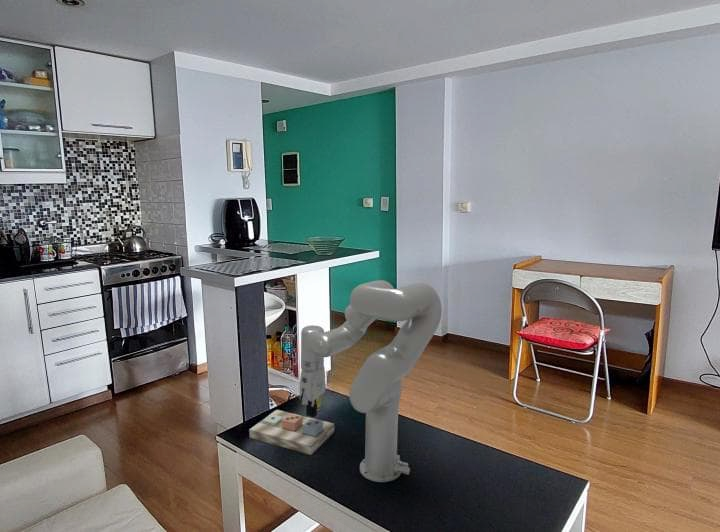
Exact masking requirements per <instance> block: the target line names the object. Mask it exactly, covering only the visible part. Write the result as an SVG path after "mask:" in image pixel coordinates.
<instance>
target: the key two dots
mask: <svg viewBox="0 0 720 532" xmlns="http://www.w3.org/2000/svg"><path fill="white" fill-rule="evenodd" d="M314 419H315V418H313V419H309V420H308V421H307V422H305V423H304V424H303V425H302V433H303V434H307V435H310V436H314V437H316V436H317V435H318V434H319V433H320V432H321V431H322V430H323V422H322V421H323V420H321V421H318V420H319V419H317V420H314Z"/></svg>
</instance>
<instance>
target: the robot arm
mask: <svg viewBox="0 0 720 532" xmlns="http://www.w3.org/2000/svg"><path fill="white" fill-rule="evenodd" d="M441 302H442V301H441V299H440V296H439V294H438V292H437V291H436V290H435V288H434V287H432V286H431V285H429V284H428V283H427V284H426V283H424V282H423V283H420V282H417V283H411V284H409V285H406V286H402V287H399V288H394V286H393V285H392V284H391V283H390V282H388V281H386V280H383V279H382V280H380V279H379V280H373V281H369V282H366V283H361V284H359V285H357V286H356V287H355V288H353V290H352V291H351V293H350V298H349V303H350V304H348V306H347V307H346V308H345V310H344V317H345V320H346V321H344V322H343V324H342V325H340V326H339V327H336V328H333V329H330V330H327V331H325V330H324V328H323V327H322V326H319V325H314V324H313V325H307V326H304V327H303V328H302V329H301V333H300V375H299V376H300V378H299V399H300V400H301V405H303V406H306V412H305V413H306V417H309V418H316V417H317V415H318V411H317V403H318V397H319V396H320V395H321V396H322V395H323V394H324V393H326V392H325V391H326V387H327V386H326V384H327V382H326V371H325V358H329V357H333V355H336V354H339V353H341V352H344V351H346V350H347V349H349V348H351V347H352V346H353V345H355V344H356V343H357V342H358V341H359V340H360V339H361V338H362V337H363V336H364V335H366V332H367V329H368V327H369V326H370V325H371V324H372V323H373V322H374V321H376V320H377V319H378V320H384V321H385V320H386V321H390V322H404V323H403V324H402V325H401V327H400V328H399V329H398V332H397V334H396V336H395V337H394V339H393V340H392V341H391V342H390V343H389V344H388V345H385V346H384V347H382V348H380V349H378V350H375V351H374V352H373V353H371V354H370V356H368V357H367V359H366V360H365V361H364V362H363V364H362V366H361V368H360V369H359V371H358V373H357V375H356V376H355V378H354V380H353V381H352V382H351V385H350V387H349V402H350V404H351V406H352V407H353V409H354V410H355V411H357V412H359V413H362V414H365V436H364V437H365V441H364V442H365V443H364V444H365V445H364V458H363V459H362V461H361V462H360V463H359V472H360V474H361V476H363V477H364V478H365V479H367V480H369V481H372V482H375V483H387V482H392V481H394V480H396V479H398V478H399V477H400V476H401V474H404V475H410V472H411V469H410V467H409V463H408V462H405V461H402V460H401V457H400V456H401V455H399V454H398V427H399V426H398V424H399V423H398V422H399V411H400V410H399V408H400V402H401V401H400V400H401V398H402V392H403V391H402V390H403V381H402V379H403V378H404V377H405V376H407V375H408V374H409V373H411V371H412V370H413V369H414V367H415V365H416V363H417V361H418V360H419V358H420V357H421V356H422V353H424V351H425V349H426V347H427V345H428V344H429V343H430V341H431V340H432V338H433V336H434V335H435V333H436V331H437V330H438V328H439V325H440V323H441V319H442V312H443V308H442V303H441Z"/></svg>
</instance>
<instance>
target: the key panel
mask: <svg viewBox="0 0 720 532" xmlns="http://www.w3.org/2000/svg"><path fill="white" fill-rule="evenodd" d="M270 414H273V415H277V416H282V417H283V419H284V418H285V417H287V416H288V415H289V414H294V415H298V416H302V417H303V424H304V423H305V422H307V421H308V420H309V419H314V420H318V421H322V422H323V430H322V431H321V432H320V433H319V434H318V435H317V436H316V437H314V436H310V435H307V434H303V433H302V426H301V427H299V428H298V429H297V430H296V431H291V430H287V429H283V428H282V422H281V423H279V424H278V425H277V426H276V427H274V426H270V425H266V424H263V420H264V419H265V418H266V417H268V416H269V415H267V416H266V417H265V418H263V419H262V420H260V421H259V422H258V423H256V424H255V425H254V426H252V427H251V428H249V429H248V432H249V438H250V439H253V440H257V441H261V442H264V443H267V444H271V445H274V446H278V447H282V448H284V449H285V448H286V449H289V450H292V451H297V452H300V453H302V454H306V455H310V456H312V455H313V453H315V452H316V451H317V450H318V448H320V447H321V445H322V444H323V443H325V442H326V441H327V439H329V437H330V436H331V435H333V433H334V432H335V423H332V422H329V421H326V420H325V421H324V420H321V419H317V418H314V417H310V416H304V415H300V414H296V413H291V412H289V411H284V410H280V409H276V410H274V411H272V412H271V413H270Z"/></svg>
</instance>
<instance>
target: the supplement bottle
mask: <svg viewBox="0 0 720 532" xmlns="http://www.w3.org/2000/svg"><path fill="white" fill-rule="evenodd" d="M321 409H322V395H320V396H319V397H318V403H317V412H318V411H320V410H321Z"/></svg>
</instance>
